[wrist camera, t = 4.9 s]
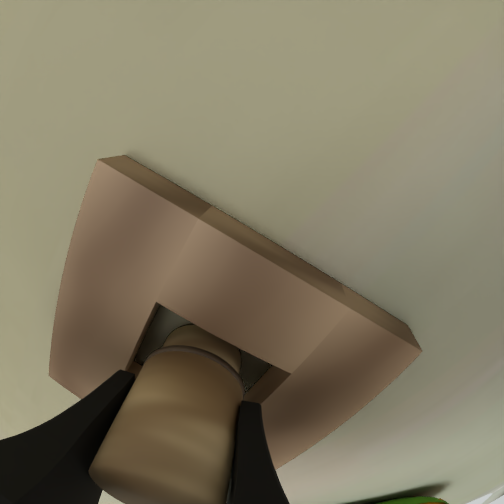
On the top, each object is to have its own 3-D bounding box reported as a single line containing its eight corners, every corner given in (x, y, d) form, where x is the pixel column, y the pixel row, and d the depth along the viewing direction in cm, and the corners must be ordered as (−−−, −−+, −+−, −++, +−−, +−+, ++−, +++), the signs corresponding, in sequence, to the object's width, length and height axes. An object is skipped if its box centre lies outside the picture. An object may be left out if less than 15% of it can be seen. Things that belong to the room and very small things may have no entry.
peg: (253, 325, 12) (226, 492, 5) (245, 394, 13) (224, 530, 6) (153, 310, 12) (67, 446, 5) (162, 380, 13) (109, 501, 7)
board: (407, 325, 11) (422, 351, 9) (259, 457, 15) (256, 480, 14) (124, 155, 10) (97, 159, 8) (64, 356, 14) (48, 375, 12)
